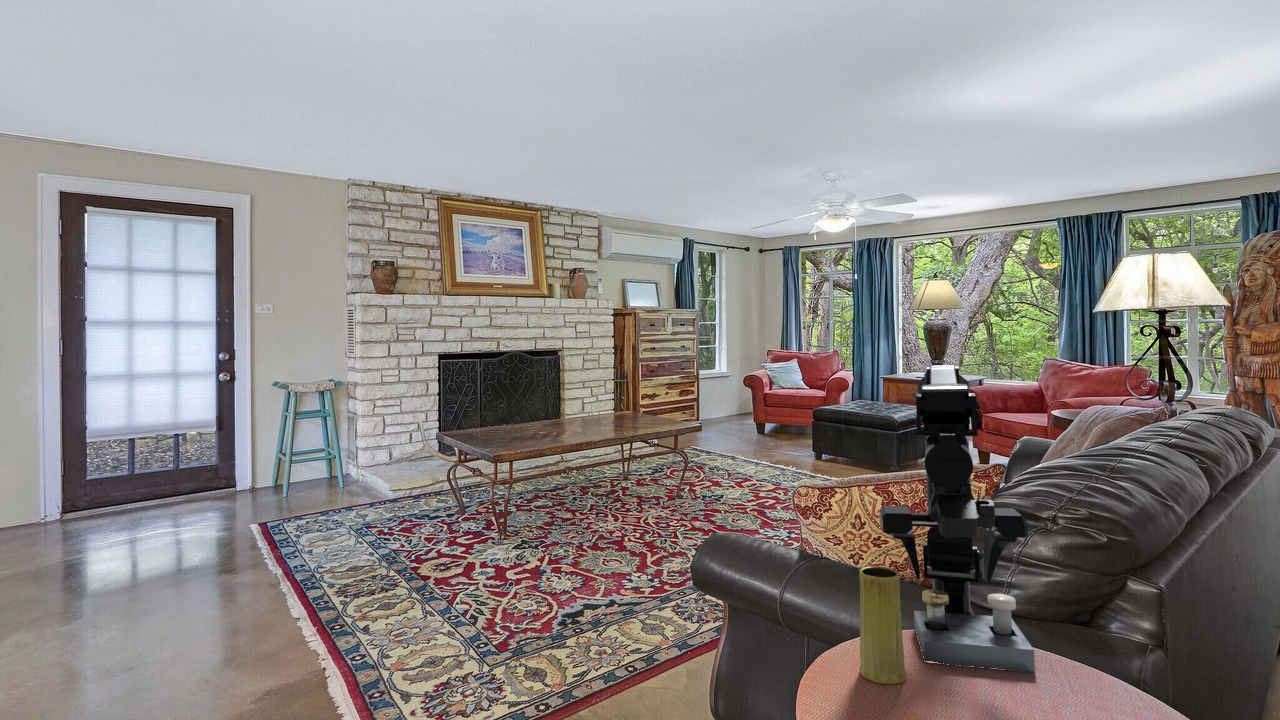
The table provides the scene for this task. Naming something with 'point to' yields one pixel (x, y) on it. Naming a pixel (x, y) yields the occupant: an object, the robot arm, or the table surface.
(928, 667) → the table surface
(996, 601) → the knob ivory
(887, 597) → the vase
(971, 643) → the mount
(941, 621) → the knob brass
